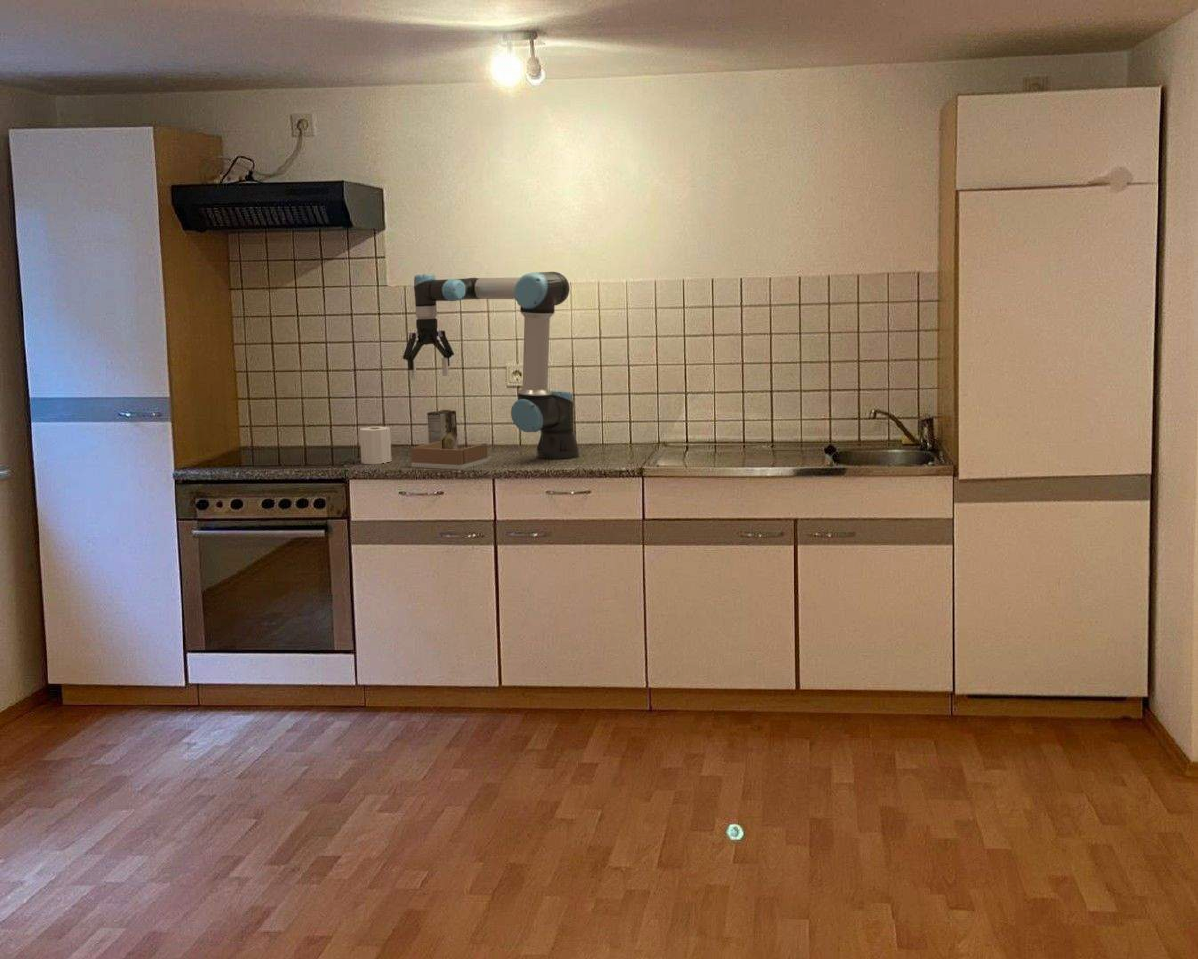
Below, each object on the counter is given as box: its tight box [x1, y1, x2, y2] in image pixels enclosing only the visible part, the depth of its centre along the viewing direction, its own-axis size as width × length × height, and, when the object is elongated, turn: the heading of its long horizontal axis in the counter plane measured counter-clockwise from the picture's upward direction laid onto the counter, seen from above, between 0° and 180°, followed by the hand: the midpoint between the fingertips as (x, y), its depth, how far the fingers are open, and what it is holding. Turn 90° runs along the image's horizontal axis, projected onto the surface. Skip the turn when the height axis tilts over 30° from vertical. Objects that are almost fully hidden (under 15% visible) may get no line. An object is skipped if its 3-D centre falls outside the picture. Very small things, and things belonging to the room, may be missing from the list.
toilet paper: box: [359, 426, 392, 465], centre depth 513 cm, size 10×10×12 cm
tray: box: [410, 441, 490, 470], centre depth 504 cm, size 20×18×6 cm
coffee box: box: [426, 409, 459, 450], centre depth 524 cm, size 9×6×16 cm
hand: (429, 377), depth 526 cm, fingers open, 13 cm apart
